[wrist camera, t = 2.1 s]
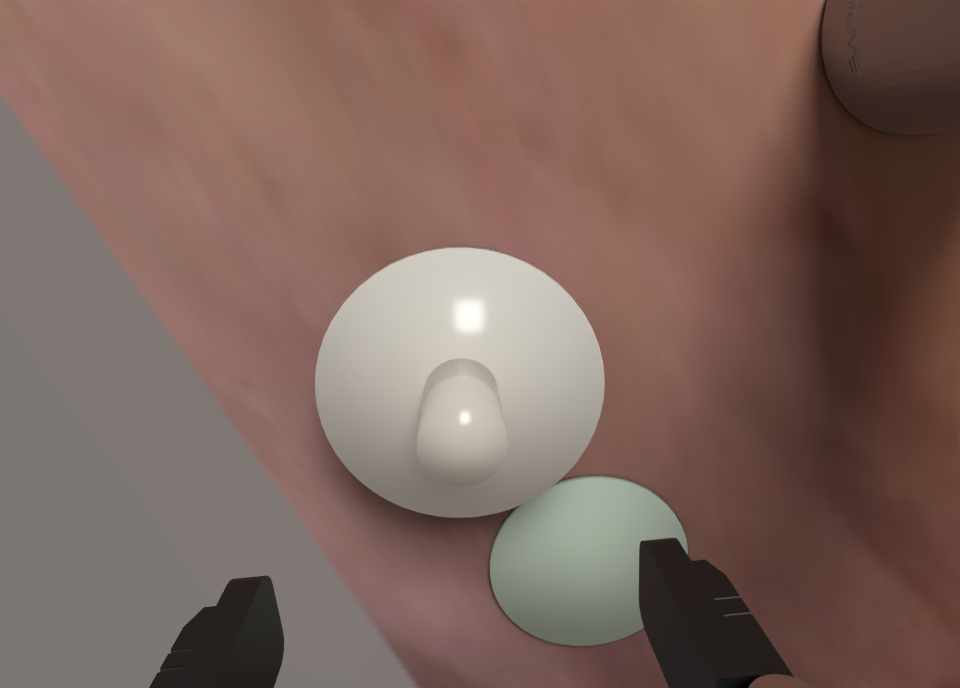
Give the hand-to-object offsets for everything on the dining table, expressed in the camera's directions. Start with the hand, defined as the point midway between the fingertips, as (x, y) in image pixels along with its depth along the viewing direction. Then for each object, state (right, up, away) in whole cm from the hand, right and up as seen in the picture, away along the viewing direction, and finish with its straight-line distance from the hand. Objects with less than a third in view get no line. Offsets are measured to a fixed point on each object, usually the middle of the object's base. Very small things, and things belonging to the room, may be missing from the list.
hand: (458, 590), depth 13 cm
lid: (0, +4, +11) cm, 12 cm away
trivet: (+6, -7, +20) cm, 22 cm away
